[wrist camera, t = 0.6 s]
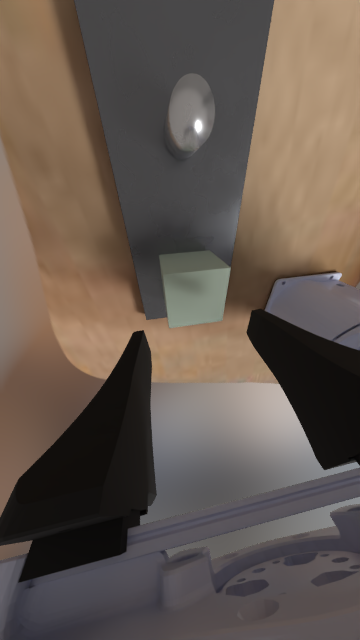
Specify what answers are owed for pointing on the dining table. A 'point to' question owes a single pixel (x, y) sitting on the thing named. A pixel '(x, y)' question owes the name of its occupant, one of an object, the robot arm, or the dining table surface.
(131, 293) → the dining table surface
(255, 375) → the dining table surface
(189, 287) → the sage green cube
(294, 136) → the dining table surface
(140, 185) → the base plate
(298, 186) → the dining table surface
